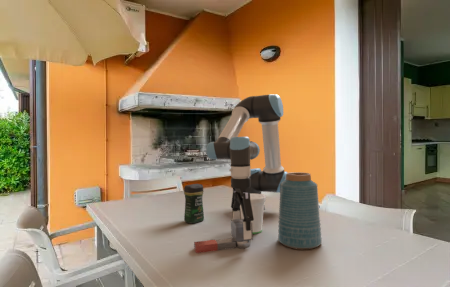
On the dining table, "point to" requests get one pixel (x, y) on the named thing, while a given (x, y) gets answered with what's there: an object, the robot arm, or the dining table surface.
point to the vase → (299, 212)
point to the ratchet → (219, 245)
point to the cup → (256, 211)
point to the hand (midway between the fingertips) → (241, 232)
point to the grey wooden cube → (238, 230)
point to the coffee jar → (193, 203)
